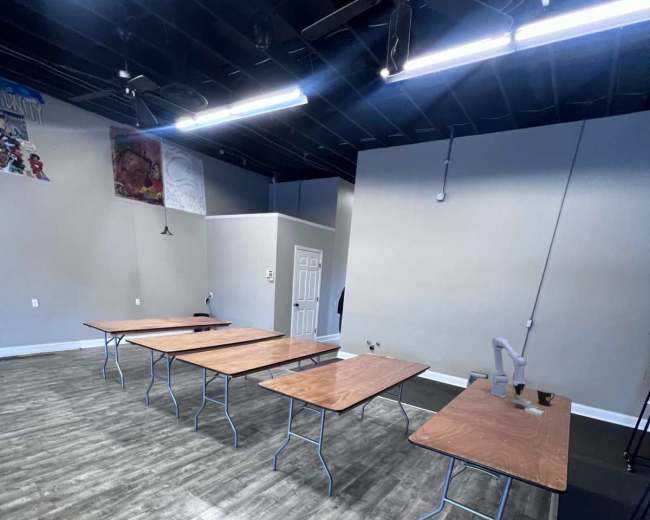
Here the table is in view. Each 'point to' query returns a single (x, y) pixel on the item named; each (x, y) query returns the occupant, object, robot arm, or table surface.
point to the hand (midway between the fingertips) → (518, 394)
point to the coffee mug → (544, 397)
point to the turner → (521, 398)
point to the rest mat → (524, 404)
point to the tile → (534, 411)
